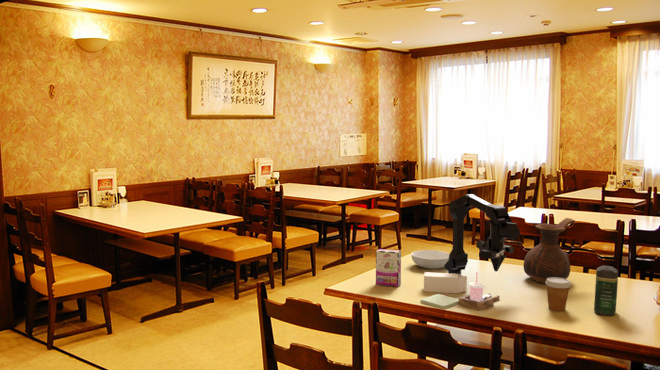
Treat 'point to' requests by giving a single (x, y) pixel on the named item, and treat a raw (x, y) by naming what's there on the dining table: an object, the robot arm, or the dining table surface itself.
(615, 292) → the coffee jar
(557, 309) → the disposable coffee cup
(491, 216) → the robot arm
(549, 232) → the jug
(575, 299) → the dining table surface
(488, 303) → the brown wooden tray
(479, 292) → the beverage cup
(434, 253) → the serving bowl
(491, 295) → the key bar
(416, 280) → the dining table surface
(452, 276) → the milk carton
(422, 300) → the pale green square pad
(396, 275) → the candy bar box
